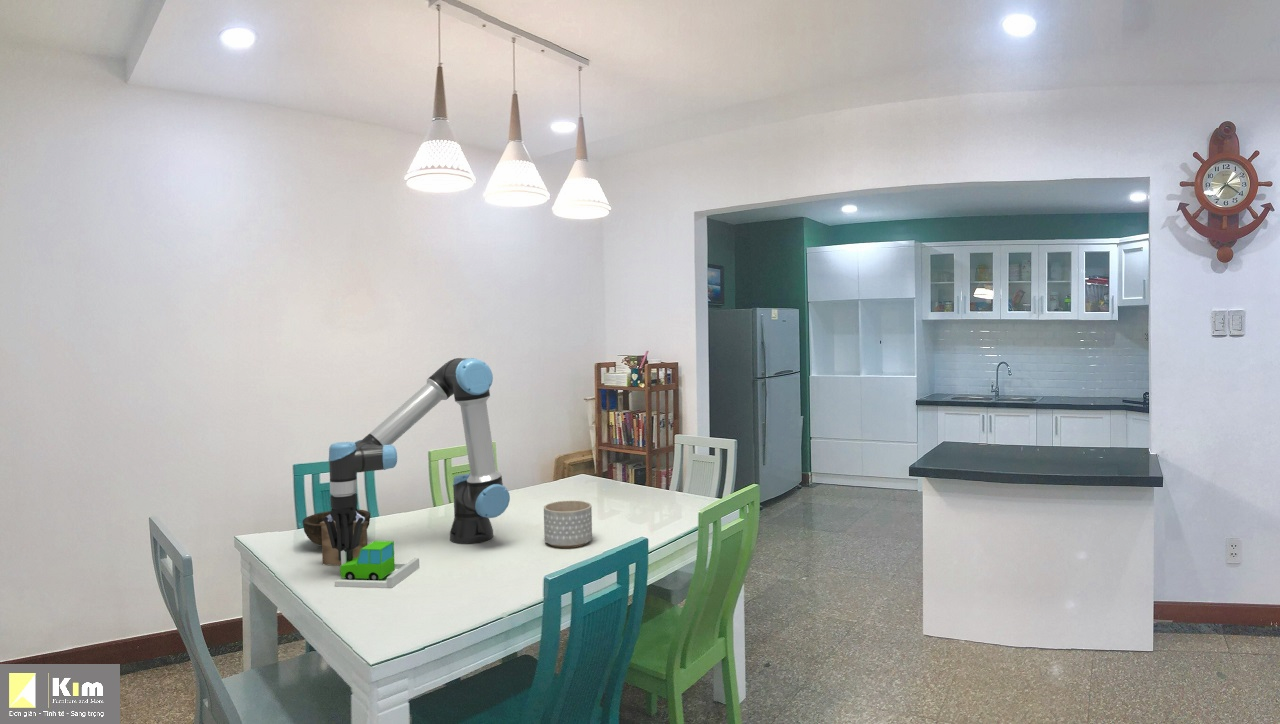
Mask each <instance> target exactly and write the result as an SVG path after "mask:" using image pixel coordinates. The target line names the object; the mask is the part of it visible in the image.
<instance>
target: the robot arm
mask: <svg viewBox="0 0 1280 724" xmlns="http://www.w3.org/2000/svg"><path fill="white" fill-rule="evenodd" d="M493 380H494V377H493V372H492V369H491V367H490V366H489V365H488V364H487V363H486V362H485V361H483V360H481V359H477V358H472V357H471V358H469V357H468V358H467V357H464V358H462V357H458V358H453V359H450V360H448V361H446V362H445V363H444V364H443V365H442V366H441V367H439V368H438V369H437V370H436V371H435V372H434V373H432V374H431V375H430V376H429V377H428V378H426V383H425V385H424V386H422V387H421V388H420V389H419V390H417V392H415V393H414V394H413V395H412V396H411V397H410V398H408V399H407V400H406V401H405V402H404V403H403V404H402V405H401V406H400V407H398V408H397V409H396V410H395V411H394V412H393V413H391V414H390V415H389V416H388V417H386V418H385V419H384V420H383V421H382V422H381V423H380V424H378V425H377V426H376V427H375V428H374V429H373V430H372V431H370V432H369V433H368V434H367V435H366V436H365V437H364V438H362V439H360V440H356V441H354V442H353V441H340V442H335V443H332V444H330V446H329V448H328V465H329V468H328V469H329V494H330V497H329V498H330V501H329V502H330V508H331V509H330V510H329V511H330V515H328V516H326V517H324V518H323V521H324V522H325V524H326V526H327V530H328V534H329V538H330V542H331V546H332V548H333V549H334V548H335V549H337V550H338V553H339V561H341V565H343V564H345V563H347V562H348V561H351V560H352V559H353V549H354V548H356V547H358V546H359V542H360V537H361V532H362V527H363V523H364V522H365V520H366V517H365V516H361V515H360V514H359V512H358V510H359V509H358V494H357V491H358V486H357V485H358V484H357V483H358V481H357V479H358V478H357V474H358V473H364V472H365V473H366V472H373V471H374V472H375V471H382V470H384V471H385V470H389V469H394V468H395V467H396V466H397V463H398V452H397V449H396V446H394V445H393V444H394V443H395V442H396V441H397V440H399V438H401V437H402V436H403V435H404V434H405V433H407V432H408V431H409V430H410V429H411V428H412V427H413V426H414V425H416V423H418V422H419V421H420V420H421V419H422V418H423V417H424V416H426V415H427V414H428V413H429V412H430V411H431V410H432V409H433V408H435V407H436V406H437V405H438V404H439V403H440V402H441V401H447V400H448V399H449V398H450V397H451V396H453V397H454V402H455V403H456V404H457V405H459V406H460V412H461V418H462V419H461V420H462V426H463V432H464V438H465V447H466V452H467V460H468V465H469V472H470V473H464V474H457V475H455V476H454V478H453V484H452V488H453V511H454V515H453V517H454V518H453V520H452V521H453V522H452V525H451V527H450V531H449V541H451V542H452V543H456V544H475V543H477V544H478V543H481V542H486V541H489V540H490V539H493V537H494V528H493V525H492V523H491V520H490V519H494V518H498V517H499V516H501V515H502V514H504V513H505V511H506V510H507V508H508V507H509V503H510V500H511V498H510V497H511V496H510V492H509V490H508V488H506V486H505V485H504V483H503V478H502V477H503V476H502V473H501V472H499V471H498V470H497V469H496V468H497V467H496V460H495V455H494V448H493V440H492V434H491V433H492V431H491V426H490V419H489V412H488V405H487V403H488V402H487V401H488V400H489V398H490V397H491V393H490V392H491V391H490V388H491V386H492V384H493ZM333 519H334V521H335V522H336V527H335V523H334V521H333ZM355 519H356V525H355V529H354V534H353V525H354V520H355ZM336 528H337V531H336ZM341 565H340V566H341Z"/></svg>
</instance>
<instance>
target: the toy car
mask: <svg viewBox="0 0 1280 724" xmlns="http://www.w3.org/2000/svg"><path fill="white" fill-rule="evenodd" d="M394 562H395V541H393V540H392V541H390V540H374V541H373V542H370V543H369V544H367V546H365V547H363V548H362V549H361V550H360V553H359V557H357V558H353V559H352V560H351V561H348V562H347V563H345V564H343V565H339V566H340V570H339V571H340V572H339V573H340V578H343V579H345V580H357V579H362V580H367V579H368V580H373V581H380V580H383V579H384V578H386V576H387V577H388V576H389V575H391V574H392V573H393V572H395V571H396V569H395V563H394Z"/></svg>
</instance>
